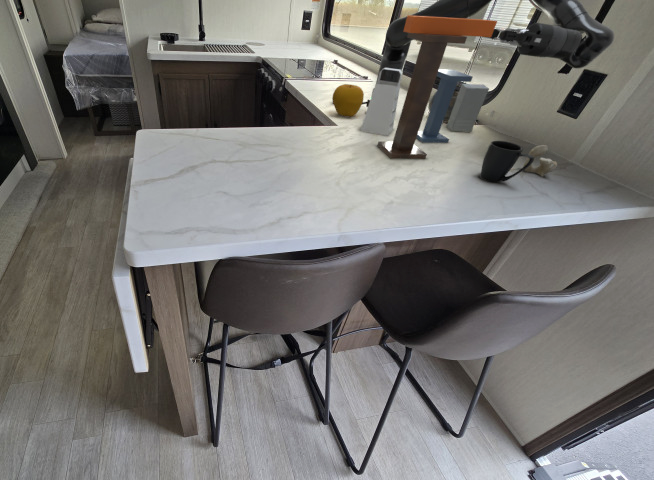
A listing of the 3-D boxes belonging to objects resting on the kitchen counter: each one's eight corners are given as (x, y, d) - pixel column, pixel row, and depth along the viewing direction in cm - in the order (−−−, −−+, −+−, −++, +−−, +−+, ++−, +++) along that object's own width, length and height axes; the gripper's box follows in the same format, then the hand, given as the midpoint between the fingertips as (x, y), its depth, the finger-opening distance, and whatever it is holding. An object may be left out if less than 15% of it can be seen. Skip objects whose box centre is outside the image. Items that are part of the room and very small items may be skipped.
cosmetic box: (465, 128, 141) (483, 83, 131) (471, 133, 136) (491, 87, 125) (444, 126, 142) (461, 82, 131) (450, 131, 136) (467, 86, 126)
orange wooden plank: (482, 35, 97) (488, 19, 95) (491, 37, 95) (497, 21, 92) (403, 31, 95) (407, 15, 92) (409, 32, 92) (414, 16, 89)
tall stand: (409, 146, 121) (446, 32, 99) (425, 158, 112) (469, 37, 90) (377, 145, 119) (407, 30, 98) (390, 158, 110) (427, 35, 89)
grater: (366, 124, 139) (380, 65, 125) (392, 128, 135) (409, 69, 122) (360, 130, 131) (373, 69, 118) (387, 135, 128) (404, 73, 115)
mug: (508, 191, 95) (527, 157, 89) (469, 175, 103) (484, 142, 96) (523, 186, 99) (543, 152, 92) (485, 171, 106) (500, 139, 100)
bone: (562, 170, 105) (570, 143, 98) (547, 184, 105) (554, 158, 97) (533, 162, 111) (538, 136, 103) (519, 176, 111) (523, 150, 103)
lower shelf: (433, 133, 134) (456, 69, 120) (449, 143, 125) (475, 76, 111) (409, 132, 133) (429, 68, 119) (423, 143, 124) (447, 75, 110)
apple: (342, 120, 141) (348, 89, 133) (323, 112, 149) (328, 82, 141) (366, 118, 146) (373, 87, 138) (346, 110, 154) (352, 80, 146)
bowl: (467, 122, 148) (477, 96, 142) (440, 124, 143) (450, 97, 137) (443, 113, 158) (452, 88, 151) (417, 115, 153) (425, 89, 146)
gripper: (533, 23, 103) (485, 15, 100) (569, 26, 92) (517, 18, 90) (518, 53, 108) (472, 46, 105) (551, 59, 97) (501, 52, 95)
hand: (493, 33), depth 97 cm, fingers open, 8 cm apart
